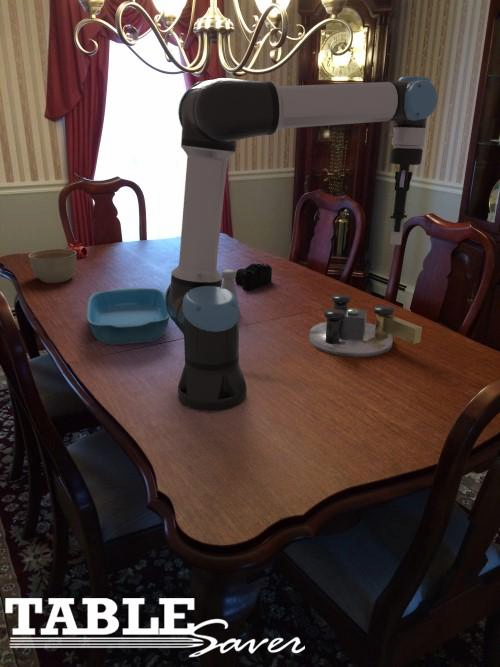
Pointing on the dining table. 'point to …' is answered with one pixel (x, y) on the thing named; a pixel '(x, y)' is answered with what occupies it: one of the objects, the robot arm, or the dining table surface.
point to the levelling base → (351, 343)
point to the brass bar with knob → (395, 326)
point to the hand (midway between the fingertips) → (395, 243)
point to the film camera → (254, 276)
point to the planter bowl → (53, 264)
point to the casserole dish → (128, 315)
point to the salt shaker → (229, 280)
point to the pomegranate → (78, 250)
